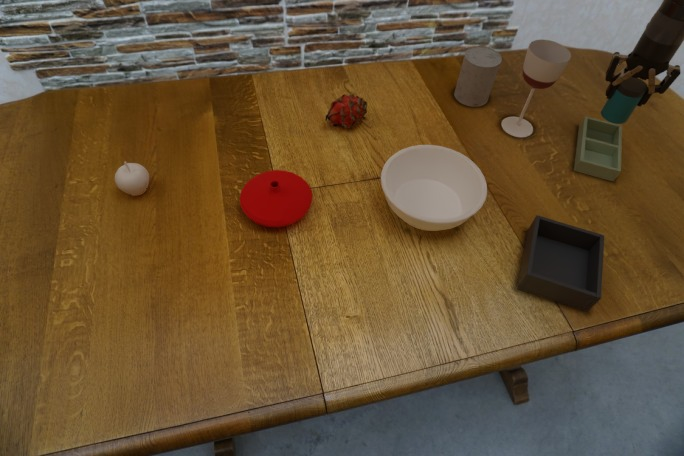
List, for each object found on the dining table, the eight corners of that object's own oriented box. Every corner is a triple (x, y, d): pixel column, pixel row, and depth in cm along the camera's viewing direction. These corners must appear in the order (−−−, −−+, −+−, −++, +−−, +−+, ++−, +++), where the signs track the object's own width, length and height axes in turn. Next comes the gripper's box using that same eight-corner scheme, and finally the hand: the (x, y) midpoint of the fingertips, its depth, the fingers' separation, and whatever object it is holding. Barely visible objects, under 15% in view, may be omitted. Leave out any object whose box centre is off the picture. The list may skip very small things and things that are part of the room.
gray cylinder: (481, 111, 125) (495, 71, 115) (449, 99, 127) (459, 59, 118) (492, 92, 130) (506, 53, 120) (460, 81, 133) (471, 42, 123)
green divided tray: (615, 135, 121) (622, 125, 118) (613, 181, 110) (621, 171, 108) (578, 126, 122) (584, 115, 120) (573, 170, 112) (580, 160, 109)
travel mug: (627, 111, 113) (647, 79, 106) (627, 126, 110) (648, 95, 102) (601, 105, 114) (619, 73, 107) (600, 120, 111) (618, 88, 104)
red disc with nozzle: (291, 244, 96) (289, 223, 91) (227, 218, 100) (221, 196, 94) (324, 193, 105) (324, 171, 99) (264, 171, 109) (261, 149, 103)
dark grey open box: (591, 250, 98) (604, 235, 93) (587, 312, 89) (601, 298, 84) (527, 230, 100) (536, 214, 96) (516, 288, 92) (526, 274, 87)
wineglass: (514, 111, 125) (545, 35, 108) (542, 130, 121) (579, 54, 103) (492, 122, 122) (520, 46, 104) (520, 143, 117) (554, 67, 100)
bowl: (445, 265, 94) (455, 241, 88) (357, 212, 102) (359, 186, 95) (494, 200, 105) (505, 175, 99) (411, 156, 113) (416, 130, 107)
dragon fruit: (369, 122, 123) (329, 139, 121) (357, 93, 122) (316, 109, 120) (377, 114, 114) (334, 132, 112) (364, 82, 114) (320, 100, 112)
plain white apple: (151, 174, 107) (140, 149, 100) (156, 196, 103) (145, 171, 96) (119, 182, 105) (106, 157, 99) (123, 204, 101) (110, 179, 95)
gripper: (627, 35, 94) (590, 102, 108) (704, 51, 91) (656, 118, 105) (628, 17, 99) (592, 84, 112) (701, 32, 96) (655, 99, 109)
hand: (623, 100), depth 108 cm, fingers closed on travel mug, 6 cm apart
